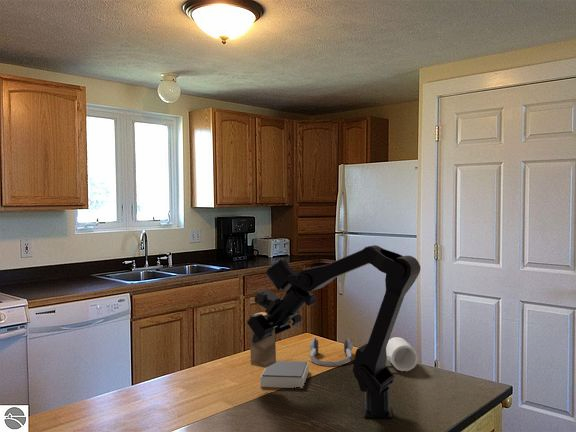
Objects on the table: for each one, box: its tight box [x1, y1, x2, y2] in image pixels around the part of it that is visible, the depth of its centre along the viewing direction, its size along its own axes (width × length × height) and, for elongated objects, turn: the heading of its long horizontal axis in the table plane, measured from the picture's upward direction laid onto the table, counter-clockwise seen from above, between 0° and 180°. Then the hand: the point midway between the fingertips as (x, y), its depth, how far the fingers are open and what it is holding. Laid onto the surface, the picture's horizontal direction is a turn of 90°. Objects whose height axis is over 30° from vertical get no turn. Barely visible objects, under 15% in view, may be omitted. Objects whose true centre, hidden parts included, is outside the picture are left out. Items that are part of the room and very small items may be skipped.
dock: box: [259, 360, 310, 389], centre depth 147 cm, size 14×12×3 cm
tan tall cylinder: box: [249, 327, 277, 369], centre depth 140 cm, size 5×5×12 cm
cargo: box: [252, 311, 269, 320], centre depth 140 cm, size 3×3×2 cm
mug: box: [386, 336, 419, 372], centre depth 156 cm, size 12×10×8 cm
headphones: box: [309, 337, 361, 367], centre depth 168 cm, size 17×6×20 cm
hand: (258, 339), depth 141 cm, fingers closed on tan tall cylinder, 5 cm apart
